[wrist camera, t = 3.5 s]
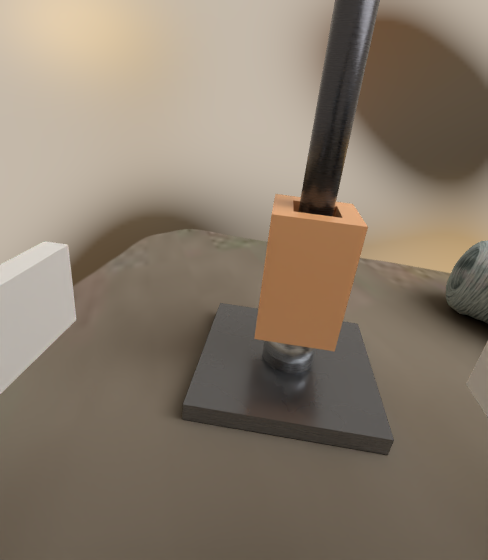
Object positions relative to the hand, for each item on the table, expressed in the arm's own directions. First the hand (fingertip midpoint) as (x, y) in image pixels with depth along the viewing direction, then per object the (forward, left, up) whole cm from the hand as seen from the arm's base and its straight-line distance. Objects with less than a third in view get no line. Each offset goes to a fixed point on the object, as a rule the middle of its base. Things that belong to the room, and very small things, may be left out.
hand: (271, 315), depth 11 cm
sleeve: (-2, -11, -7) cm, 14 cm away
